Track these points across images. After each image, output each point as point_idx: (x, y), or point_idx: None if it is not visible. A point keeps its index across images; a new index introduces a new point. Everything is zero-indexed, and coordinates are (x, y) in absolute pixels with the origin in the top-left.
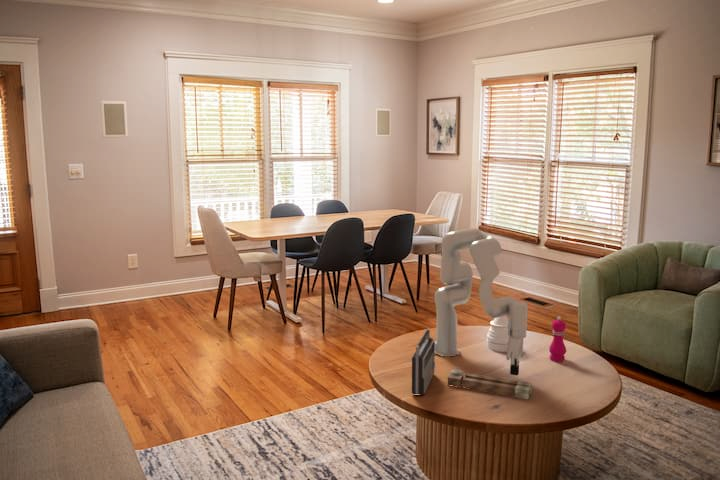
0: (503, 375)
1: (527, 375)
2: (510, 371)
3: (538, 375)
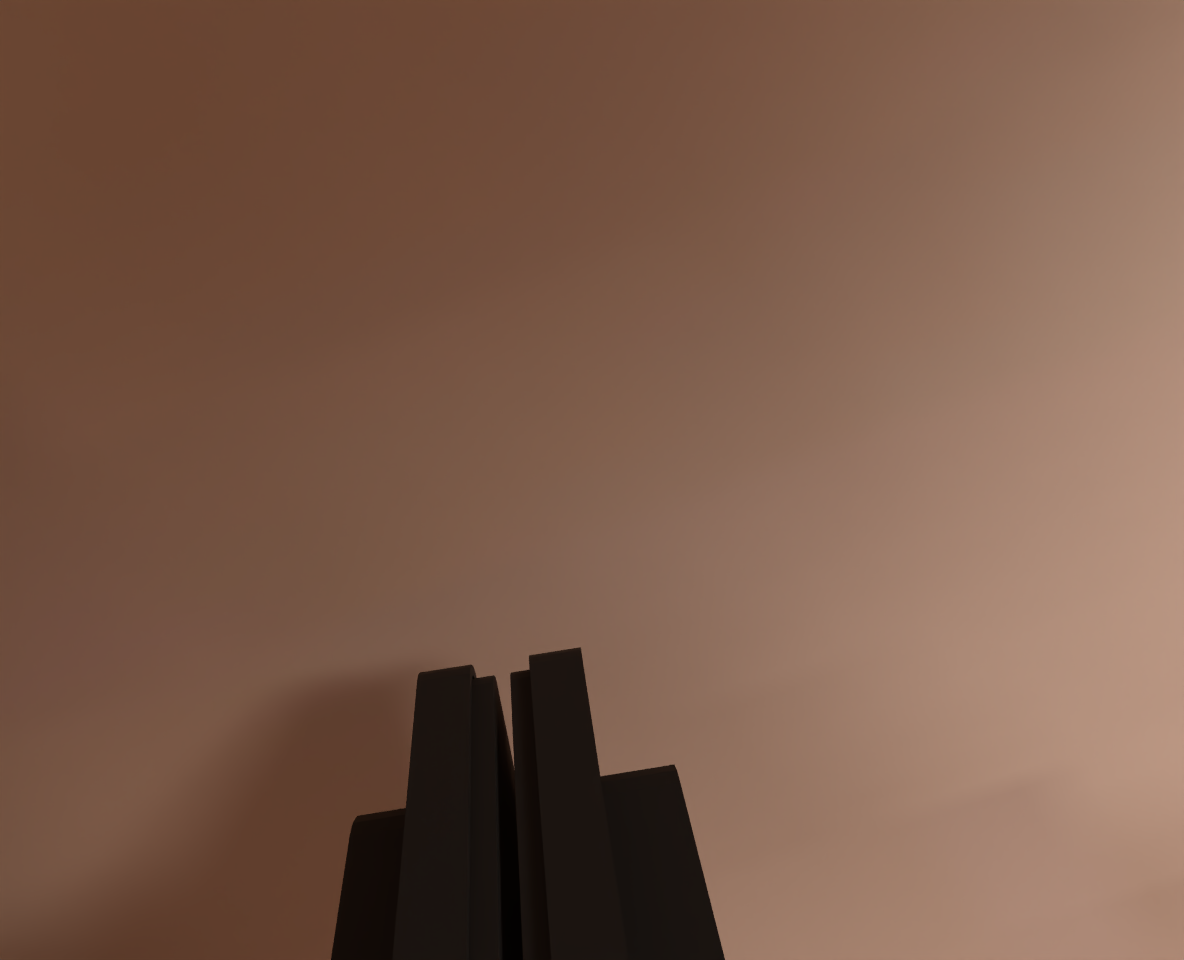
0: (769, 176)
1: (1064, 759)
2: (415, 757)
3: (1151, 931)
